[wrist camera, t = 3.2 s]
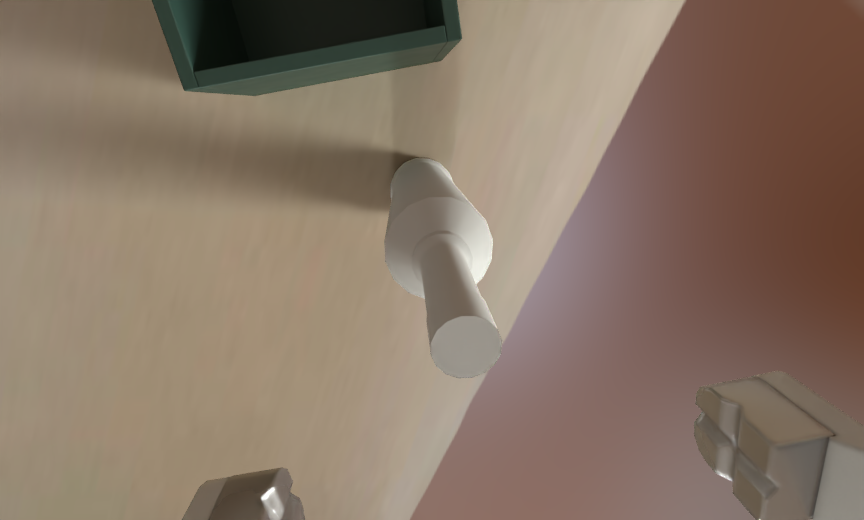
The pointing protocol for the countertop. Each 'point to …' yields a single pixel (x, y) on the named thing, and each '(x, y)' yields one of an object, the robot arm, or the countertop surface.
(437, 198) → the bottle
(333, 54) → the bin
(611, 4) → the countertop surface
